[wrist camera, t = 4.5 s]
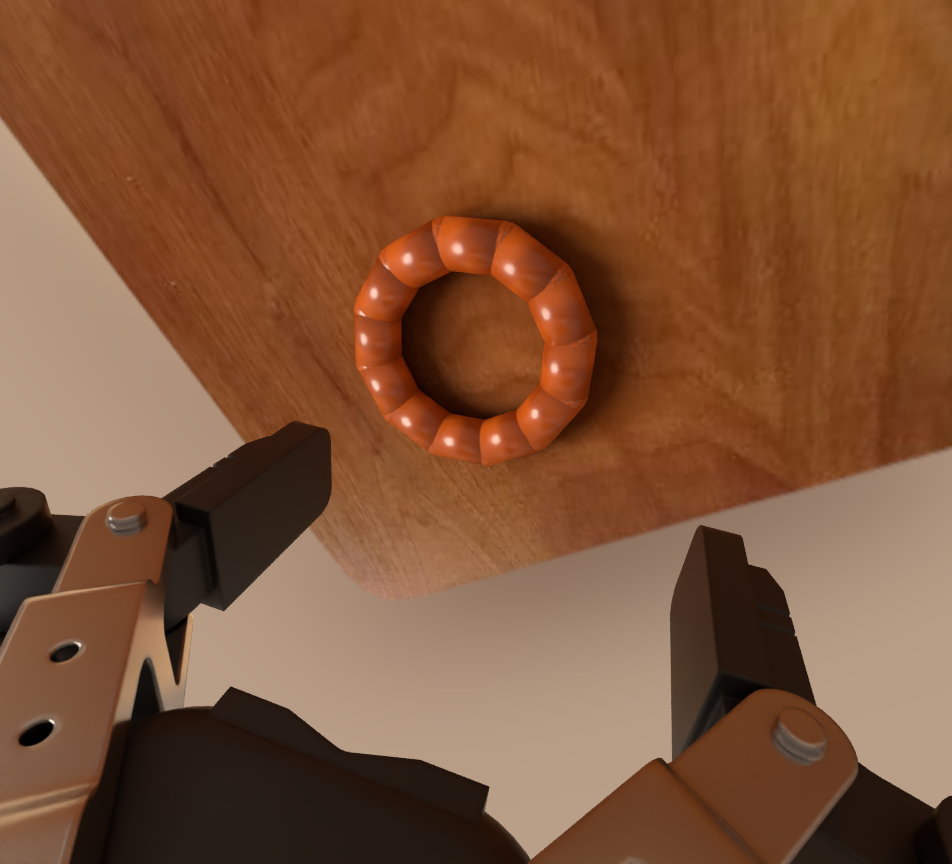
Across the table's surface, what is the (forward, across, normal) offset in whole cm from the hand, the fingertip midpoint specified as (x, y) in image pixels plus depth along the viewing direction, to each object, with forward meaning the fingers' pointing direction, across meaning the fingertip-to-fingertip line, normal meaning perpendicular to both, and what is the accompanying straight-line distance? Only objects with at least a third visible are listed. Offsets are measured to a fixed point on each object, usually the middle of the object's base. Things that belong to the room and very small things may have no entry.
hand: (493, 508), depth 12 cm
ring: (+9, +4, 0) cm, 10 cm away
